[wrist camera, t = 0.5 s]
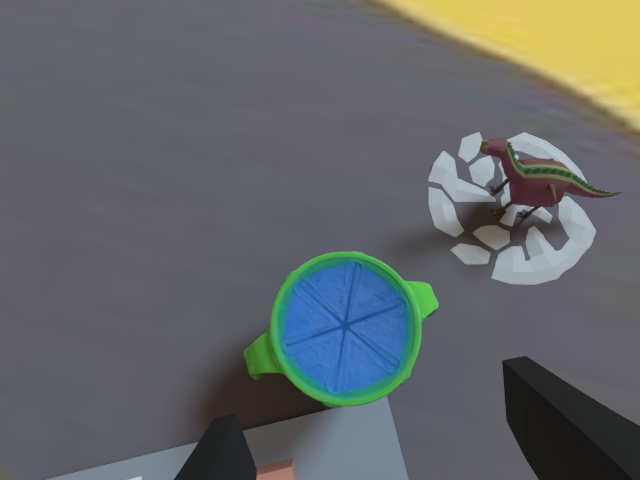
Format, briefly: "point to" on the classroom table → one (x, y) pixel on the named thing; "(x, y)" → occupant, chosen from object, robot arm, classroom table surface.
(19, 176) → the classroom table surface
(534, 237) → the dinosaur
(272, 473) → the t block
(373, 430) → the t board
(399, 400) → the classroom table surface
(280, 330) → the snack cup
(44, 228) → the classroom table surface
